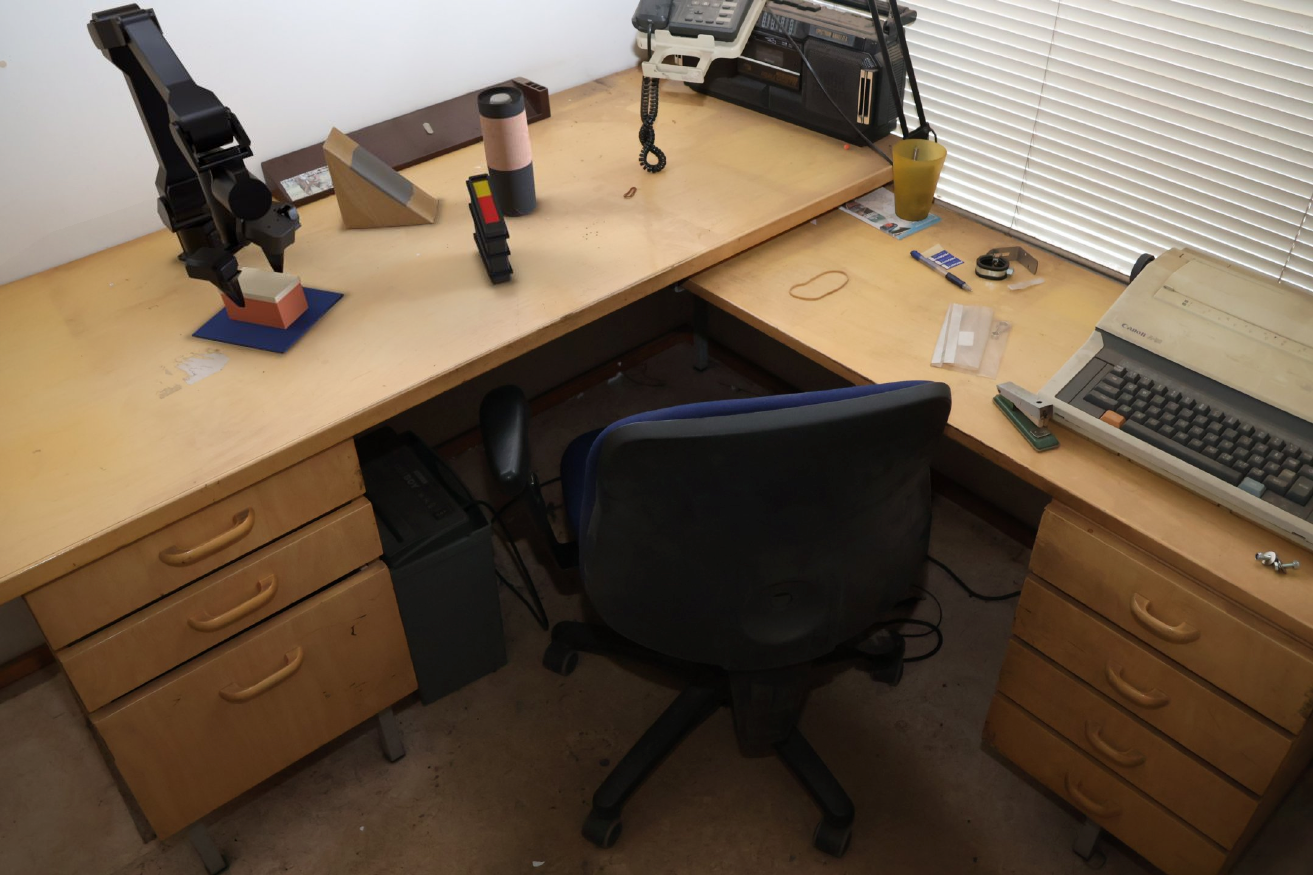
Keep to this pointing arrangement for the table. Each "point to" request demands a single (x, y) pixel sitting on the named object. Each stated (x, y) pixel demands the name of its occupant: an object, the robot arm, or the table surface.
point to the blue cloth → (268, 336)
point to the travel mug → (508, 149)
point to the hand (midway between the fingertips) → (261, 290)
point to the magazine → (489, 228)
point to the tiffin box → (267, 298)
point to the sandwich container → (373, 188)
